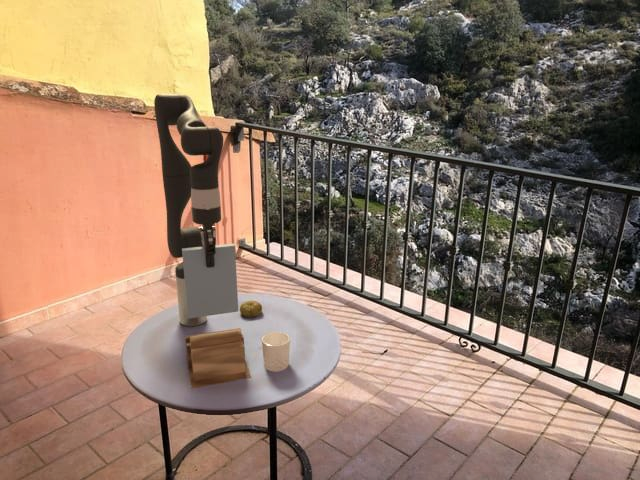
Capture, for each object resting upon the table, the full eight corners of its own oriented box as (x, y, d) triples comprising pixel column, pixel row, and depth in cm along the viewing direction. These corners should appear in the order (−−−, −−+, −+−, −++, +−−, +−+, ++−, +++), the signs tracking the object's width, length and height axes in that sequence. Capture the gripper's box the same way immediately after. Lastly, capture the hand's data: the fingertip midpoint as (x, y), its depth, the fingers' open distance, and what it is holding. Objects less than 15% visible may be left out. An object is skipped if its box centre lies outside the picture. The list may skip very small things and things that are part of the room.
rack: (187, 361, 141) (185, 336, 139) (241, 352, 146) (240, 328, 144) (191, 393, 127) (189, 365, 124) (251, 382, 132) (250, 355, 129)
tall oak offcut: (192, 368, 135) (189, 336, 132) (241, 359, 140) (240, 329, 137) (193, 373, 133) (190, 341, 130) (243, 365, 137) (241, 334, 134)
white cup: (279, 380, 133) (278, 348, 130) (257, 371, 137) (256, 340, 134) (295, 367, 139) (295, 336, 136) (273, 359, 143) (273, 329, 140)
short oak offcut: (193, 374, 132) (191, 349, 130) (243, 366, 137) (242, 341, 134) (194, 380, 129) (192, 354, 127) (245, 371, 134) (244, 346, 131)
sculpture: (266, 302, 171) (251, 310, 165) (266, 312, 173) (251, 321, 166) (250, 297, 176) (234, 304, 170) (250, 307, 177) (235, 314, 171)
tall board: (187, 315, 135) (181, 248, 129) (237, 308, 139) (233, 243, 133) (188, 318, 133) (182, 250, 127) (238, 311, 138) (234, 245, 131)
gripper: (189, 199, 131) (193, 258, 137) (193, 211, 119) (198, 276, 124) (217, 197, 134) (220, 256, 139) (224, 209, 121) (227, 272, 127)
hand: (209, 265), depth 132 cm, fingers closed on tall board, 2 cm apart
